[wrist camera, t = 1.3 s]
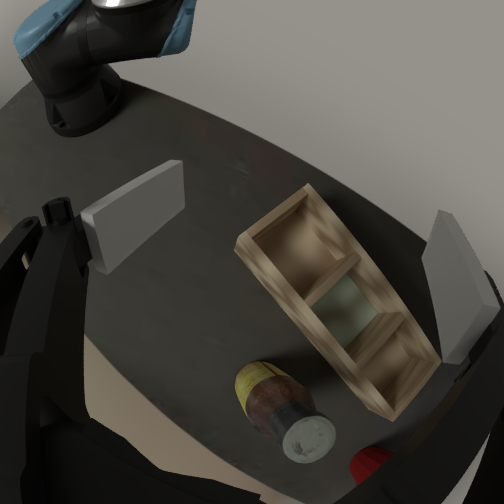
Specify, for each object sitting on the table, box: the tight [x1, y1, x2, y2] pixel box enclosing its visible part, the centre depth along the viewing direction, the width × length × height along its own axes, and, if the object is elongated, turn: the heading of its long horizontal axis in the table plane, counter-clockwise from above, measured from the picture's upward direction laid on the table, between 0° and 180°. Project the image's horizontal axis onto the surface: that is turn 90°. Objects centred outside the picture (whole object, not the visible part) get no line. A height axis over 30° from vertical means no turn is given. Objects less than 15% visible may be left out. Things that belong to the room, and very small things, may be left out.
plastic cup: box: [350, 447, 394, 485], centre depth 28 cm, size 11×11×12 cm
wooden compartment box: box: [234, 183, 442, 422], centre depth 35 cm, size 31×11×7 cm, turn 40°
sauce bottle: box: [235, 361, 336, 463], centre depth 26 cm, size 7×6×20 cm
